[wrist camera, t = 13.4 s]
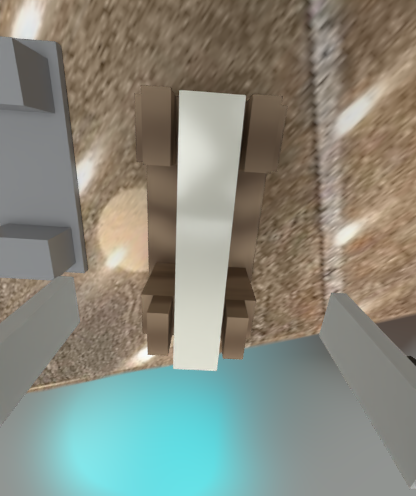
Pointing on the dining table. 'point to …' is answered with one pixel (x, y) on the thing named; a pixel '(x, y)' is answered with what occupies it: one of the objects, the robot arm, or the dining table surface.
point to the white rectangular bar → (204, 221)
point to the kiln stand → (37, 165)
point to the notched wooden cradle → (165, 212)
